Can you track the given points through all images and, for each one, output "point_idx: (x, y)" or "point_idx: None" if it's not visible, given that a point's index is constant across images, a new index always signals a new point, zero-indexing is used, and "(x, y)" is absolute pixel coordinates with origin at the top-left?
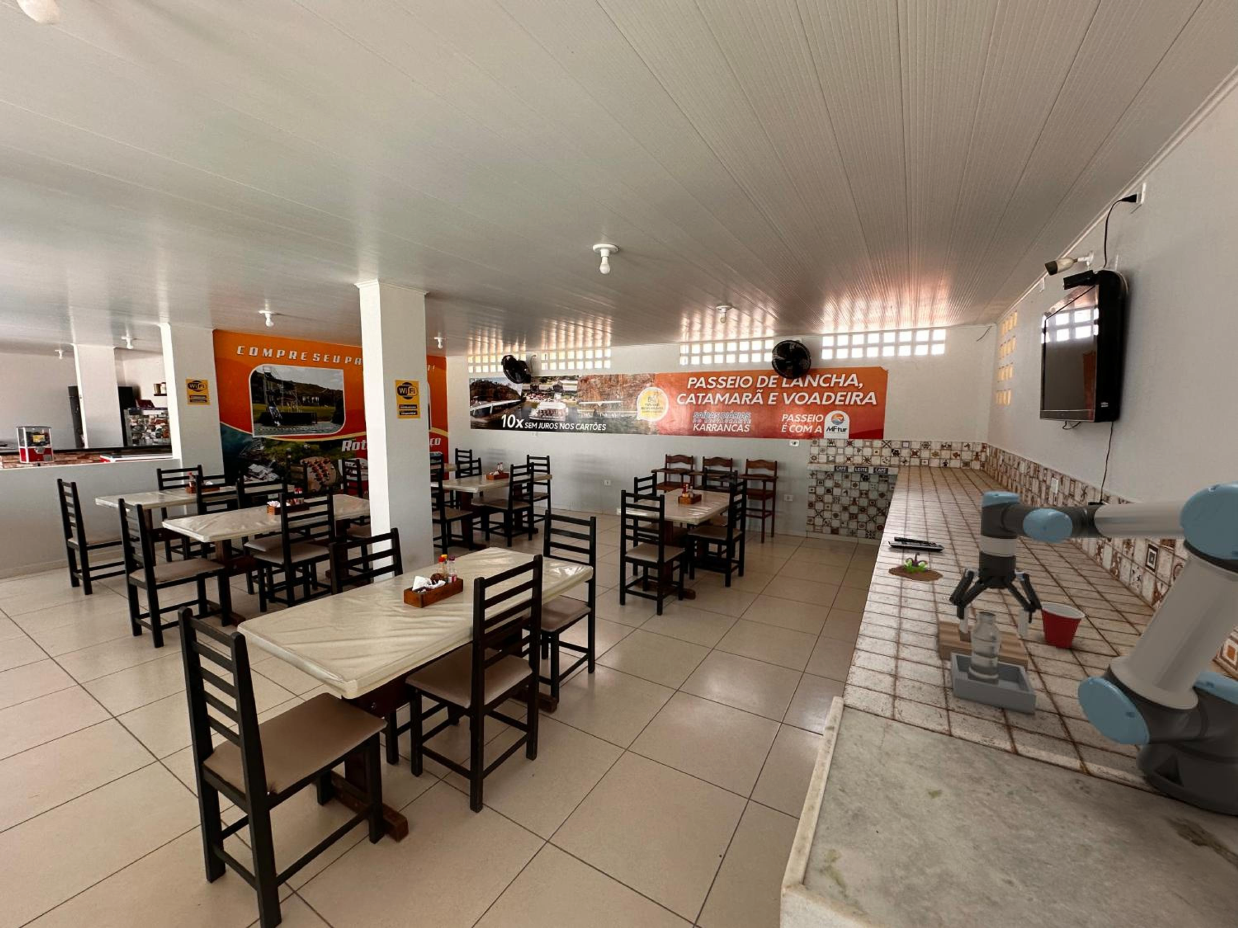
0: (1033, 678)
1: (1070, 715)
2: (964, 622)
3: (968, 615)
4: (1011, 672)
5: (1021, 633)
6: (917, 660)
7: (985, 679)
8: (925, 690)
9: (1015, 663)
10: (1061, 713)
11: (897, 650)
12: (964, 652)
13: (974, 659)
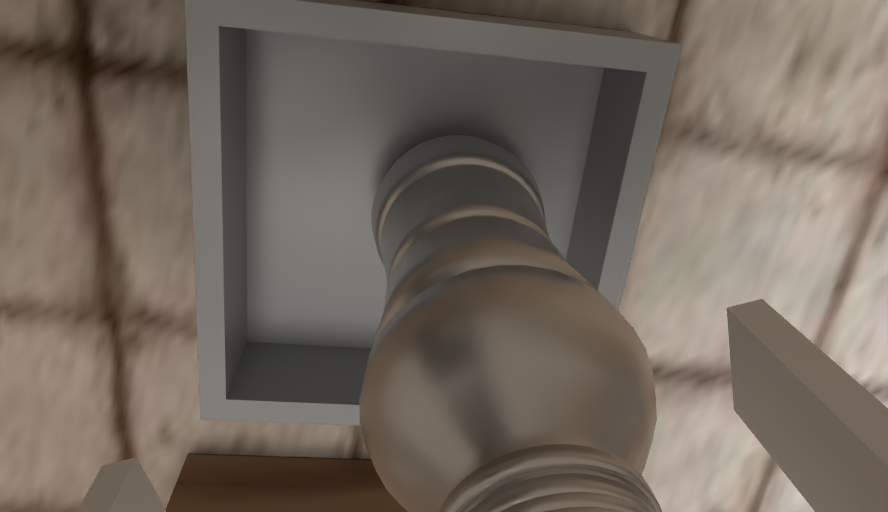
0: (161, 439)
1: (26, 75)
2: (847, 382)
3: (885, 463)
4: (273, 373)
5: (151, 509)
6: (702, 399)
7: (466, 147)
8: (776, 43)
9: (231, 498)
10: (72, 79)
11: (771, 467)
12: None
13: (548, 236)
